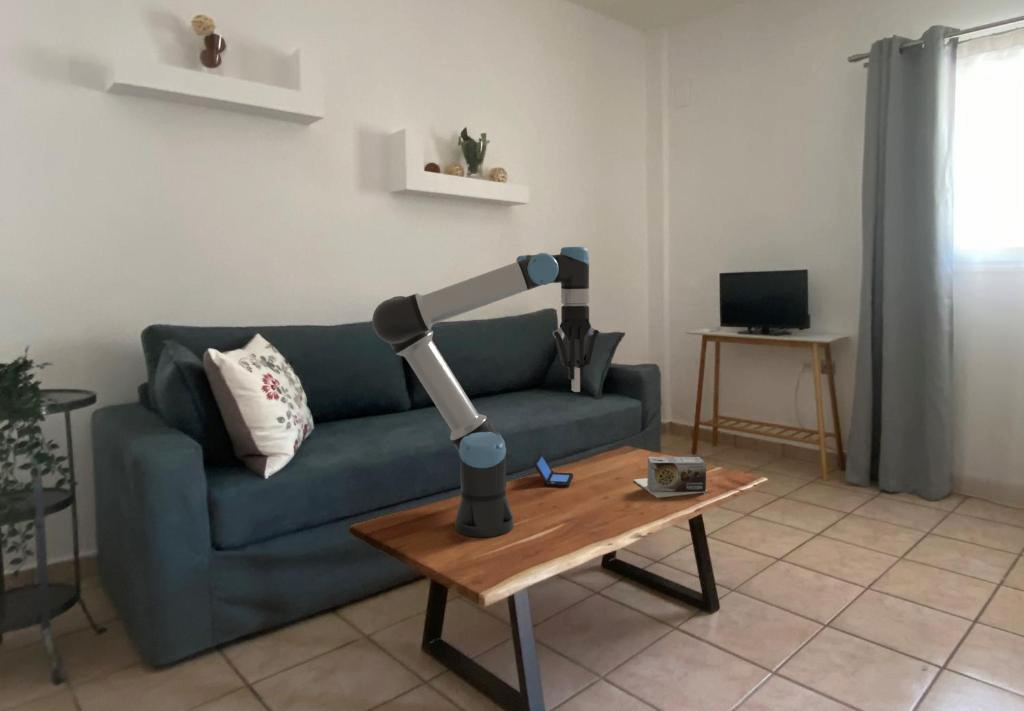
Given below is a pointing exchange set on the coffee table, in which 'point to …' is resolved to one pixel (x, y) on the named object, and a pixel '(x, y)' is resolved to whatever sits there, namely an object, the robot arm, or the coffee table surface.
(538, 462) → the handheld game console
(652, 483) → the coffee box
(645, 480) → the felt mat
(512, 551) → the coffee table surface
